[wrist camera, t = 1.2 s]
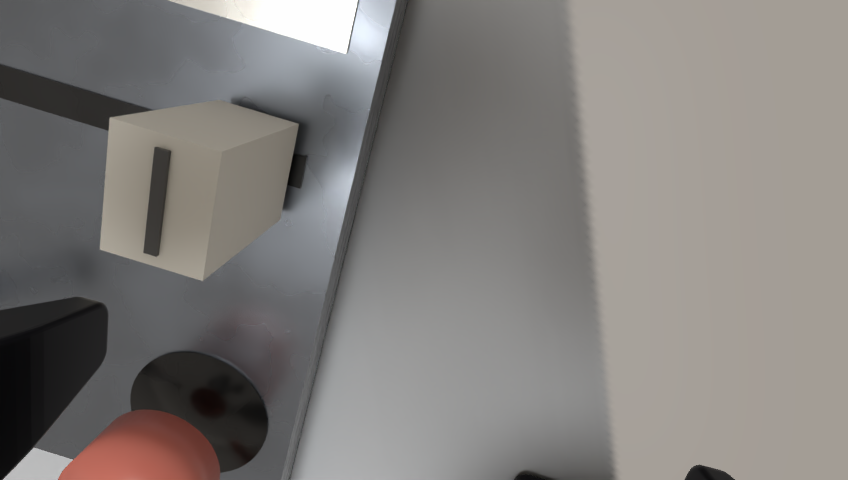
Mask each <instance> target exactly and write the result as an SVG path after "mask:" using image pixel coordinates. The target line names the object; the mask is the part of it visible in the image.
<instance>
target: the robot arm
mask: <svg viewBox="0 0 848 480" xmlns="http://www.w3.org/2000/svg"><path fill="white" fill-rule="evenodd" d="M108 316H109V314H108V308H107V306H106V305H105V304H104V303H102V302H98V301H95V300H91V299H87V298H84V297H71V298H65V299H60V300H54V301H48V302H43V303H37V304H31V305H26V306H20V307H14V308H9V309H3V310H0V480H3V479H4V478H5V477H6V476H7V475H8V474H9V473H10V472H11V471H12V470H13V469H14V468H15V467H16V466H17V465H18V463H19V462H20V461H21V460H22V459H23V458H24V457H25V456H26V455H27V454H28V453H29V452H30V451H31V450H32V449H33V447H34V446H35V445H36V444H37V443H38V442H39V441H40V439H41V438H42V437H43V436H44V435H45V434H46V432H47V431H48V430H49V429H50V427H51V426H52V425H53V424H54V423H55V421H56V420H57V419H58V418H59V416H60V415H61V414H62V413H63V412H64V410H65V409H66V408H67V407H68V405H69V404H70V403H71V402H72V401H73V399H74V398H75V397H76V396H77V394H78V393H79V392H80V391H81V390H82V388H83V387H84V386H85V385H86V383H87V382H88V381H89V380H90V378H91V377H92V376H93V375H94V374H95V372H96V371H97V370H98V369H99V367H100V366H101V364H102V363H103V361H104V359H105V356H106V352H107V339H108ZM515 480H545V479H541V478H538V477H535V476H532V475H526V474H525V475H520V476H518V477H517V478H516V479H515ZM685 480H735V479H733V478H732V477H731V476H730V475H728V474H727V473H726V472H724V471H721V470H717V469H714V468H710V467H706V466H702V465H696V466H694V467H693V468H691V469H690V471H689V472H688V474H687V476H686V478H685Z"/></svg>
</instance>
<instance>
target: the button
mask: <svg viewBox="0 0 848 480" xmlns="http://www.w3.org/2000/svg"><path fill="white" fill-rule="evenodd" d="M58 480H220V465H219V461H218V458H217V455H216V453H215V451H214V449H213V447H212V445H211V444H210V443H209V441H208V440H207V439H206V437H205V436H204V435H203V434H202V433H201V432H200V431H199V430H198V429H196V428H195V427H194V426H193V425H191V424H190V423H188V422H187V421H185V420H183V419H181V418H179V417H177V416H175V415H172V414H170V413H166V412H162V411H158V410H145V409H143V410H135V411H131V412H128V413H125V414H123V415H121V416H119V417H118V418H116V419H115V420H114V421H113V422H112V423H111V424H110V425H109V426H107V427H106V428H105V429H104V430H103V431H102V432H101V433H100V434H99V435H98V436H97V437H96V438H95V439H94V440H93V441H92V442H91V443H90V444H89V445H88V446H87V447H86V448H85V449H84V450H83V451H82V452H81V453H80V454H79V455H78V456H77V457H76V458H75V459H74V460H73V461H72V462H71V463H70V464H69V465H68V466H67V467H66V468H65V469H64V470H63V471H62V473H61V475H60V476H59V479H58Z"/></svg>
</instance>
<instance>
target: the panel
mask: <svg viewBox="0 0 848 480" xmlns="http://www.w3.org/2000/svg"><path fill="white" fill-rule="evenodd" d="M407 2H408V0H0V310H3V309H9V308H14V307H20V306H26V305H31V304H37V303H43V302H48V301H54V300H60V299H65V298H71V297H84V298H87V299H91V300H95V301H98V302H102V303H104V304H105V305H106V306H107V308H108V314H109V316H108V339H107V352H106V356H105V359H104V361H103V363H102V364H101V366H100V367H99V369H98V370H97V371H96V372H95V374H94V375H93V376H92V377H91V378H90V380H89V381H88V382H87V383H86V385H85V386H84V387H83V388H82V390H81V391H80V392H79V393H78V394H77V396H76V397H75V398H74V399H73V401H72V402H71V403H70V404H69V405H68V407H67V408H66V409H65V410H64V412H63V413H62V414H61V415H60V416H59V418H58V419H57V420H56V421H55V423H54V424H53V425H52V426H51V427H50V429H49V430H48V431H47V432H46V434H45V435H44V436H43V437H42V438H41V439H40V441H39V442H38V443H37V444H36V445H35V446H34V447H35V448H38V449H41V450H44V451H48V452H51V453H54V454H57V455H60V456H64V457H67V458H70V459H73V460H74V459H75V458H76V457H77V456H78V455H79V454H80V453H81V452H82V451H83V450H84V449H85V448H86V447H87V446H88V445H89V444H90V443H91V442H92V441H93V440H94V439H95V438H96V437H97V436H98V435H99V434H100V433H101V432H102V431H103V430H104V429H105V428H106V427H107V426H109V425H110V424H111V423H112V422H113V421H114V420H115V419H116V418H118V417H119V416H121V415H123V414H125V413H128V412H131V411H135V410H143V409H145V410H158V411H162V412H166V413H170V414H172V415H175V416H177V417H179V418H181V419H183V420H185V421H187V422H188V423H190V424H191V425H193V426H194V427H195V428H196V429H198V430H199V431H200V432H201V433H202V434H203V435H204V436H205V437H206V439H207V440H208V441H209V443H210V444H211V445H212V447H213V449H214V451H215V453H216V455H217V458H218V461H219V465H220V480H290V476H291V472H292V468H293V464H294V459H295V455H296V451H297V447H298V443H299V439H300V435H301V431H302V427H303V423H304V419H305V415H306V411H307V407H308V403H309V399H310V395H311V391H312V387H313V383H314V379H315V374H316V370H317V366H318V362H319V358H320V354H321V350H322V346H323V342H324V338H325V334H326V330H327V326H328V322H329V318H330V314H331V310H332V306H333V302H334V298H335V294H336V290H337V285H338V281H339V277H340V273H341V269H342V265H343V261H344V257H345V253H346V249H347V245H348V241H349V237H350V233H351V229H352V225H353V221H354V217H355V213H356V209H357V205H358V200H359V196H360V192H361V188H362V184H363V180H364V176H365V172H366V168H367V164H368V160H369V156H370V152H371V148H372V144H373V140H374V136H375V132H376V128H377V124H378V120H379V116H380V111H381V107H382V103H383V99H384V95H385V91H386V87H387V83H388V79H389V75H390V71H391V67H392V63H393V59H394V55H395V51H396V47H397V43H398V39H399V35H400V31H401V27H402V22H403V18H404V14H405V10H406V6H407ZM215 100H221V101H225V102H228V103H231V104H235V105H238V106H241V107H245V108H248V109H251V110H255V111H258V112H261V113H265V114H268V115H271V116H274V117H278V118H281V119H284V120H288V121H291V122H294V123H298V124H299V127H298V132H297V137H296V142H295V147H294V152H293V157H292V162H291V167H290V172H289V177H288V183H287V188H286V193H285V198H284V203H283V208H282V213H281V218H280V220H279V221H278V222H277V223H275V224H274V225H273V226H271V227H270V228H269V229H268V230H266V231H265V232H264V233H263V234H261V235H260V236H259V237H258V238H256V239H255V240H254V241H253V242H251V243H250V244H249V245H247V246H246V247H245V248H244V249H242V250H241V251H240V252H239V253H237V254H236V255H235V256H234V257H232V258H231V259H230V260H229V261H227V262H226V263H225V264H224V265H222V266H221V267H220V268H218V269H217V270H216V271H215V272H213V273H212V274H211V275H210V276H208V277H207V278H206V279H205V280H203V281H201V280H197V279H194V278H191V277H188V276H184V275H181V274H178V273H175V272H171V271H168V270H165V269H161V268H158V267H155V266H152V265H148V264H145V263H142V262H139V261H135V260H132V259H129V258H125V257H122V256H119V255H116V254H112V253H109V252H106V251H103V250H100V239H101V226H102V212H103V199H104V186H105V172H106V159H107V146H108V132H109V119H110V117H116V116H122V115H128V114H135V113H141V112H147V111H153V110H159V109H166V108H172V107H178V106H184V105H190V104H197V103H203V102H209V101H215Z"/></svg>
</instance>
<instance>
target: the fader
mask: <svg viewBox="0 0 848 480" xmlns="http://www.w3.org/2000/svg"><path fill="white" fill-rule="evenodd" d="M298 127H299V124H298V123H294V122H291V121H288V120H284V119H281V118H278V117H274V116H271V115H268V114H265V113H261V112H258V111H255V110H251V109H248V108H245V107H241V106H238V105H235V104H231V103H228V102H225V101H221V100H215V101H209V102H203V103H197V104H190V105H184V106H178V107H172V108H166V109H159V110H153V111H147V112H141V113H135V114H128V115H122V116H116V117H110V119H109V132H108V146H107V159H106V172H105V186H104V199H103V212H102V226H101V239H100V250H103V251H106V252H109V253H112V254H116V255H119V256H122V257H125V258H129V259H132V260H135V261H139V262H142V263H145V264H148V265H152V266H155V267H158V268H161V269H165V270H168V271H171V272H175V273H178V274H181V275H184V276H188V277H191V278H194V279H197V280H201V281H203V280H205V279H206V278H207V277H208V276H210V275H211V274H212V273H213V272H215V271H216V270H217V269H218V268H220V267H221V266H222V265H224V264H225V263H226V262H227V261H229V260H230V259H231V258H232V257H234V256H235V255H236V254H237V253H239V252H240V251H241V250H242V249H244V248H245V247H246V246H247V245H249V244H250V243H251V242H253V241H254V240H255V239H256V238H258V237H259V236H260V235H261V234H263V233H264V232H265V231H266V230H268V229H269V228H270V227H271V226H273V225H274V224H275V223H277V222H278V221H279V220H280V218H281V213H282V208H283V203H284V198H285V193H286V188H287V183H288V177H289V172H290V167H291V162H292V157H293V152H294V147H295V142H296V137H297V132H298Z"/></svg>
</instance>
